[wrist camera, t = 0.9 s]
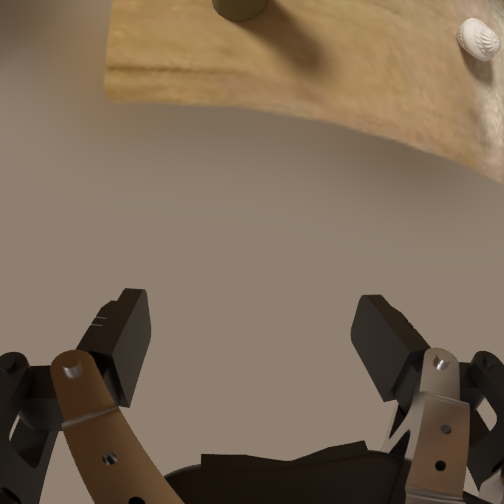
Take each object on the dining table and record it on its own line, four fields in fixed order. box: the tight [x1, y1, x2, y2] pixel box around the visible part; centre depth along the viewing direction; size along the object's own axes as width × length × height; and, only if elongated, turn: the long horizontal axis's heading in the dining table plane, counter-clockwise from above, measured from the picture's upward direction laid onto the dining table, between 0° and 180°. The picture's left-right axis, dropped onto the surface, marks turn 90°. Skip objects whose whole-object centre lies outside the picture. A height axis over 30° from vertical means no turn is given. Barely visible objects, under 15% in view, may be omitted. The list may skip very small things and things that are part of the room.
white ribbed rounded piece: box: [456, 18, 500, 61], centre depth 18 cm, size 6×6×7 cm
